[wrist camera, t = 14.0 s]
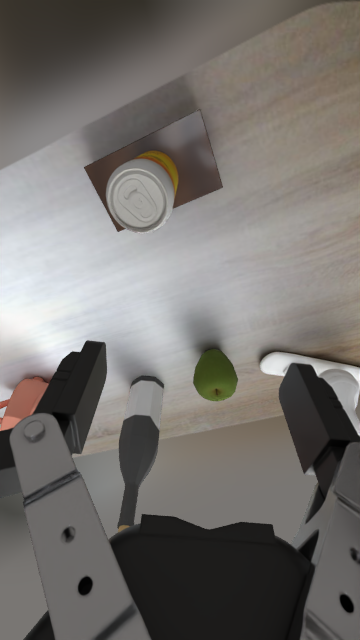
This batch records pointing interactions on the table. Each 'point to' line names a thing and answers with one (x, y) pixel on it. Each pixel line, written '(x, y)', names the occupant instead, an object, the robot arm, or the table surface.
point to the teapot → (22, 401)
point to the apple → (215, 376)
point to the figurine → (335, 374)
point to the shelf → (184, 150)
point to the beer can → (143, 192)
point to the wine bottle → (139, 441)
